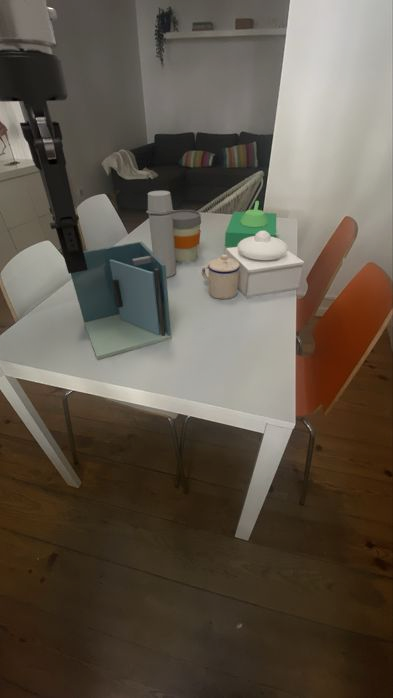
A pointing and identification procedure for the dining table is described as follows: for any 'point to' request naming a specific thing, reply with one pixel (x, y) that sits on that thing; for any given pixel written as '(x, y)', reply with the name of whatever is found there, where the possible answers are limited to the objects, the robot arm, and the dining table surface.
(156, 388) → the dining table surface
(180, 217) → the reusable coffee cup
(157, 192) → the water bottle
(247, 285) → the butter dish
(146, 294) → the shower door
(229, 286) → the teacup with lid
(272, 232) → the toy tank
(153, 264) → the shower
